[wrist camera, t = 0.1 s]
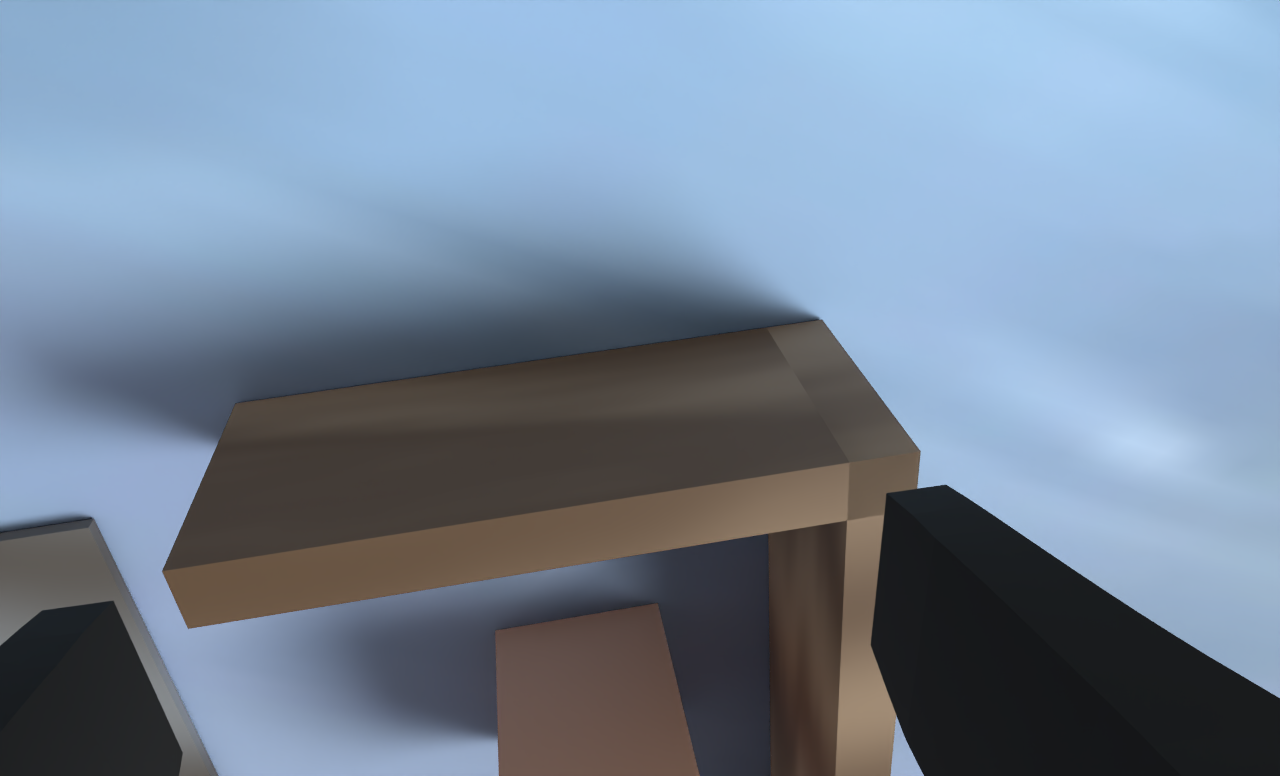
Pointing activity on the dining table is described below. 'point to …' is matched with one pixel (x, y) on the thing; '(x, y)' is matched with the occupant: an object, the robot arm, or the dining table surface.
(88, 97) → the dining table surface
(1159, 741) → the robot arm
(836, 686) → the open box
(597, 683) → the terracotta block
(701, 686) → the dining table surface
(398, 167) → the dining table surface
